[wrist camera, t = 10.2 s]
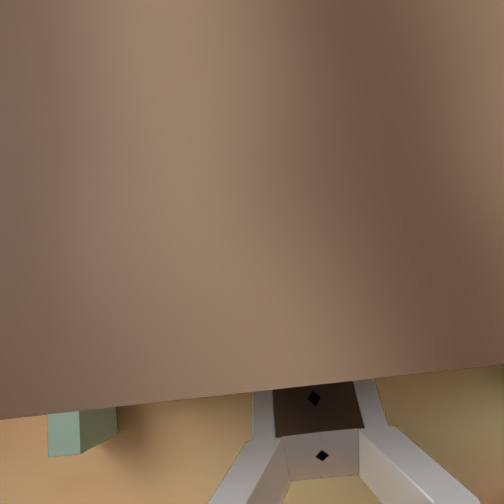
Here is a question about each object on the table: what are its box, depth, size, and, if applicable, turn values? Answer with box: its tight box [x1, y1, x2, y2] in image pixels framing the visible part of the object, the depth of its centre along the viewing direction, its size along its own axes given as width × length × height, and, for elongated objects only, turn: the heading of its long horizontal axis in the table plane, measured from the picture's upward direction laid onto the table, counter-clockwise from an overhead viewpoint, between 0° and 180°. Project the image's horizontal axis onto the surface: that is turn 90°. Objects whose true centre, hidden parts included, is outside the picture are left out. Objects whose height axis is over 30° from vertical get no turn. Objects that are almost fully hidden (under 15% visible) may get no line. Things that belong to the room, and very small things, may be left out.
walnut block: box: [0, 0, 504, 420], centre depth 13 cm, size 12×12×10 cm
